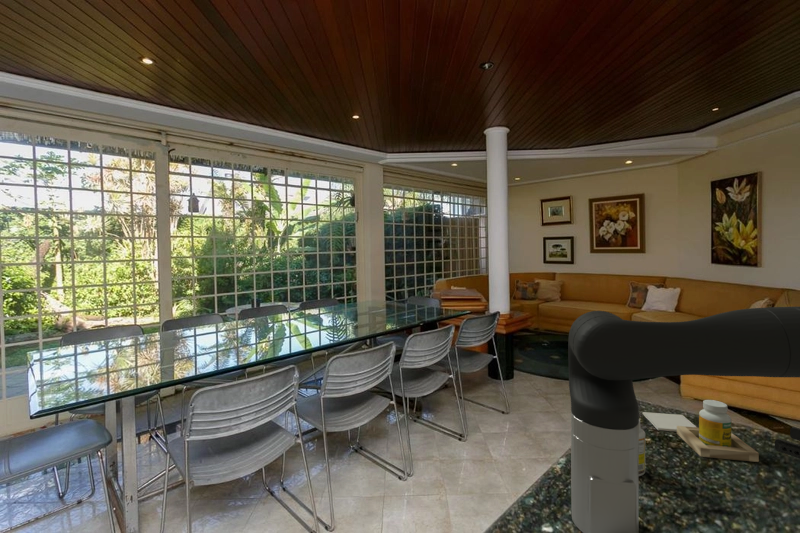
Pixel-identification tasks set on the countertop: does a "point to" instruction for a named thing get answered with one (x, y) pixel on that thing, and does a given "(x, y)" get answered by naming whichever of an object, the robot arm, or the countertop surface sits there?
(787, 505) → the countertop surface
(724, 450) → the socket block
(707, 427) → the supplement bottle
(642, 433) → the supplement bottle
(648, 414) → the coaster
